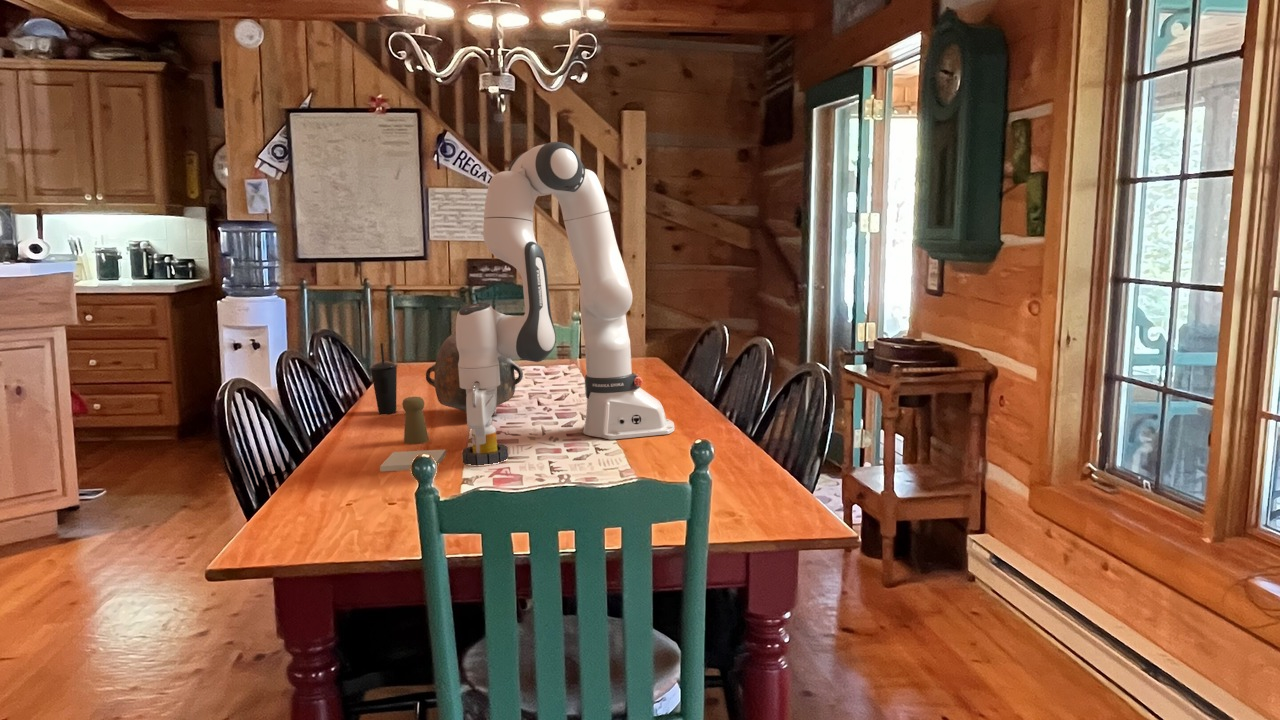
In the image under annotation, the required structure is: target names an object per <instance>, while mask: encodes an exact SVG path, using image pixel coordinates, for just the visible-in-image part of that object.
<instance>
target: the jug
mask: <svg viewBox="0 0 1280 720" xmlns="http://www.w3.org/2000/svg"><path fill="white" fill-rule="evenodd" d="M498 361H499V370H500V385H499V386H497V404H496V407H497V406H500V405H502V404H504V403H506V402H509V400H512V398H513V397H514V395H515V391H516V385H518V384H519V383H520V382H521V381H522V380H523V376H524V373H523V369H522V368H521V366H520V365H518V364H517V363H515V361H513V360H512V359H511V358H502V357H498ZM458 363H459V352H458V349H457V344H456V331H455V333H452V334H451V335H449V336H448V337H447V338H445V340H444V341H443V342H442V344H441V345H440V348H439V350H438V352H437V355H436V359H435V363H433V365H431V366H430V367H428V368H427V370H426V372H425V379H426V382H427V383H428V385H430V386H432V387H434V390H435V394H436V399H437V400H438V402H439V404H440V405H442V406H445V407H448V408H453V409H456V410H459V411H462V412H464V413H466V414H467V410H466V397H467V395H466V389H462V388H460V383H459V370H458ZM515 371H516V372H517V374H518V377H517V378H516V375H515ZM432 372H433V374H434V378H431V373H432Z"/></svg>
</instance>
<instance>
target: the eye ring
mask: <svg viewBox="0 0 1280 720" xmlns="http://www.w3.org/2000/svg"><path fill="white" fill-rule="evenodd" d="M461 456H462V463H463V464H464V465H466V464H471V465H484V464H493V463H498V462H501V461H504V460H506V459H507V458H508V457H509V446H507V445H505V444H501V443H497V451H495V452H490V453H473V447H472V446H467V447H466V448H463V450H462V451H461ZM508 459H509V458H508Z"/></svg>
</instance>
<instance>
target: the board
mask: <svg viewBox="0 0 1280 720" xmlns="http://www.w3.org/2000/svg"><path fill="white" fill-rule="evenodd" d="M420 454H429V455H431V456H432V457H433V458H434V460H435V461H436V463H437V466H438V463H439V465H440V464H441V463H442V462H443V460H444V459H445V457H446V456H447V449H430V450H428V449H427V450H408V451H407V450H406V451H394V452H392V453H391V454H390V455H389V456H388V457H387V458H386V459H385V460H384V461H383V463H382V464H381V465H380V466H379V468H380V470H379V471H380V472H395V471H396V472H399V471H411V470H410V469H411V464H412V461H413V459H414V458H415V457H416V456H417V455H420ZM438 467H439V466H438Z"/></svg>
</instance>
